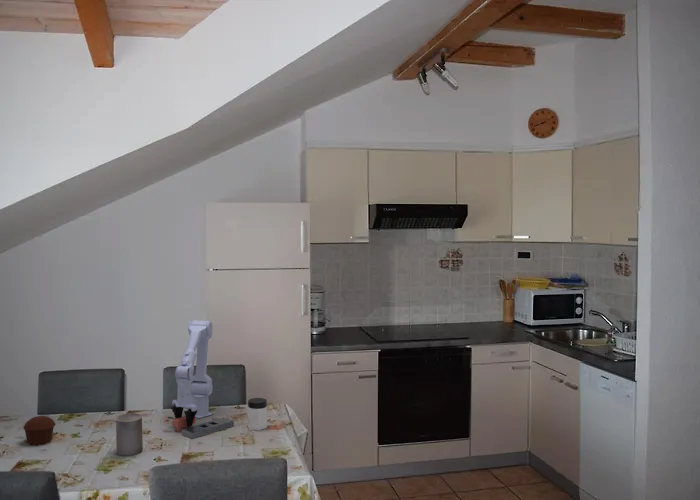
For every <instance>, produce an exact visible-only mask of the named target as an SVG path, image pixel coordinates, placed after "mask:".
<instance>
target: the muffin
mask: <svg viewBox="0 0 700 500" xmlns="http://www.w3.org/2000/svg"><path fill="white" fill-rule="evenodd" d="M55 426H56V422H55V420H54V419H53V418H51V417H49V416H46V415H37V416H33V417H32V418H30V419H28V420H27V421H26V422H25V424H24V425H23V430H24V432H25V439H26V444H27V445H29V446H42V445H47V444H49V443H51V441H52V440H53V434H54V428H55Z"/></svg>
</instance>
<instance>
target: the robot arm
mask: <svg viewBox="0 0 700 500" xmlns="http://www.w3.org/2000/svg"><path fill="white" fill-rule="evenodd" d="M213 327H214V326H213V322H212V321H211V320H193V319H190V320H189V322H188V323H187V331H188V334H189V339H188V343H187V347H186V348H187V349H186V350H184V351H183V353H182V356H181V359H180V361H179V366H177V367H176V368H175V373H174V376H175V382H176V383H177V394H176V395H177V397H176V398H177V399H173V400H172V402H171V403H172V405H173V406H171V408H170V409H171V411H172V412H173V415H174V419H176V418H180V417H183V414H184V416H186V422H187V427H190V426H193V420H194V417H195V418H198V419H202V418H205V417H208V416H212V415H213V413H212V412H210V411H209V398H210V396H211V394H212V393H213V379H212V378H211V377H210V376H209V374H207V370H208V369H207V368H208V367H207V366H208V354H209V353H208V352H209V351H208V350H209V339H212V337H213ZM194 365H195V366H194ZM194 370H195V371H194ZM194 372H195V374H194ZM184 409H186V410H184Z"/></svg>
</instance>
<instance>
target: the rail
mask: <svg viewBox="0 0 700 500" xmlns="http://www.w3.org/2000/svg"><path fill="white" fill-rule="evenodd" d="M234 426H235V420H233V419H231V418H227V417H224V416H223V417H220V418H215V419H213V420H209V421H205V422H202V423H200V424H196V425H192V427H188V428H186V427H184V428H182V431H181V436H184V437H186V438H189V439H192V440H193V439H197V438H201V437H203V436H206V435H209V434H212V433H213V434H214V433H217V432H219V431H223V430H227V429H229V428H232V427H234Z"/></svg>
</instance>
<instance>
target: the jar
mask: <svg viewBox="0 0 700 500" xmlns="http://www.w3.org/2000/svg"><path fill="white" fill-rule="evenodd" d="M267 405H268V401H267V399H266V398H263V397H252V398H249V399H248V400H247V428H248V430H249V431H252V430H253V431H261V430H265V428H266V429H267V428H268V406H267Z"/></svg>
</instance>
